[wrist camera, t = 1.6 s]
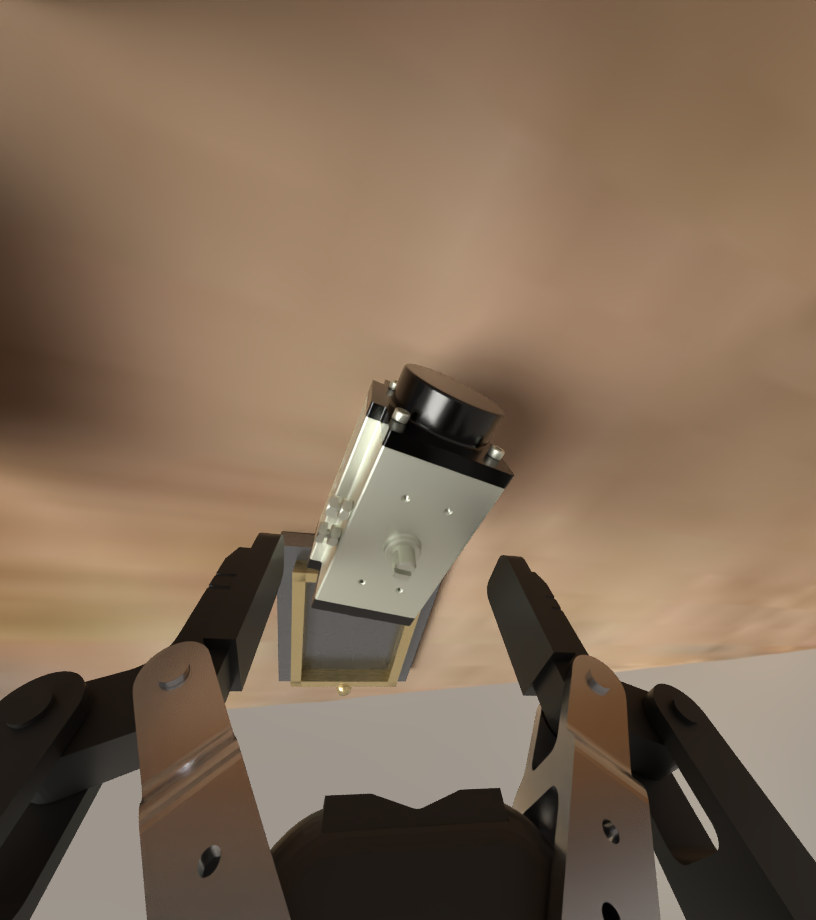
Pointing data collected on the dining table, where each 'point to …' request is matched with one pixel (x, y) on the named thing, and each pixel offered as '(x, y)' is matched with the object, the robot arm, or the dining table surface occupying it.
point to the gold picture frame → (336, 634)
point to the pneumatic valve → (406, 496)
